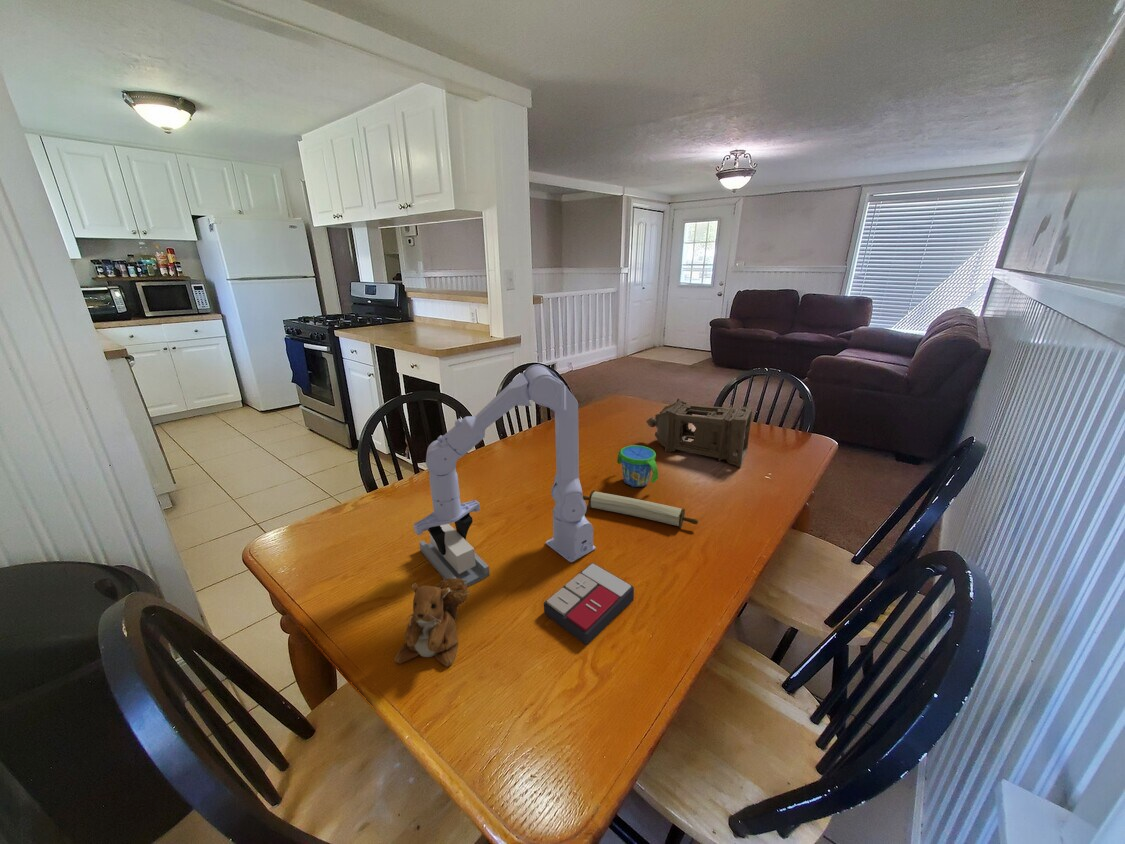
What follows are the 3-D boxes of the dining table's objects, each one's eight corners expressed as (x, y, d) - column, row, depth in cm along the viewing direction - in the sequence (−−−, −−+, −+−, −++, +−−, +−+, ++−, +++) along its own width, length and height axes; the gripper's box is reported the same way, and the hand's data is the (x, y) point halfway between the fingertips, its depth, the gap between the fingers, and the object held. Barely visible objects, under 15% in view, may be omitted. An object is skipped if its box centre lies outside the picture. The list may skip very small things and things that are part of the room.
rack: (489, 575, 93) (488, 566, 92) (455, 593, 88) (454, 583, 87) (451, 537, 106) (450, 528, 105) (420, 550, 101) (419, 541, 100)
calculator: (542, 600, 82) (592, 559, 92) (543, 617, 83) (592, 574, 93) (586, 632, 75) (635, 583, 85) (586, 649, 76) (634, 600, 86)
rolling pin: (698, 524, 111) (700, 508, 109) (695, 536, 106) (697, 519, 104) (582, 499, 123) (582, 483, 121) (575, 508, 118) (575, 493, 116)
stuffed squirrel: (391, 667, 72) (379, 606, 67) (430, 605, 85) (422, 550, 80) (446, 677, 70) (437, 616, 66) (478, 612, 83) (473, 557, 79)
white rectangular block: (475, 565, 92) (474, 548, 91) (458, 574, 90) (456, 556, 88) (446, 535, 102) (444, 519, 101) (430, 542, 100) (428, 526, 98)
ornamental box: (638, 453, 157) (638, 408, 149) (654, 431, 171) (655, 389, 162) (739, 473, 140) (745, 423, 132) (748, 447, 154) (754, 401, 146)
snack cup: (666, 489, 127) (669, 458, 124) (637, 498, 123) (639, 466, 119) (634, 468, 140) (636, 439, 137) (607, 475, 136) (608, 446, 132)
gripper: (467, 477, 98) (472, 527, 103) (404, 499, 89) (413, 553, 94) (483, 489, 93) (487, 541, 98) (418, 513, 84) (426, 569, 89)
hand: (451, 548), depth 96 cm, fingers closed on white rectangular block, 4 cm apart
